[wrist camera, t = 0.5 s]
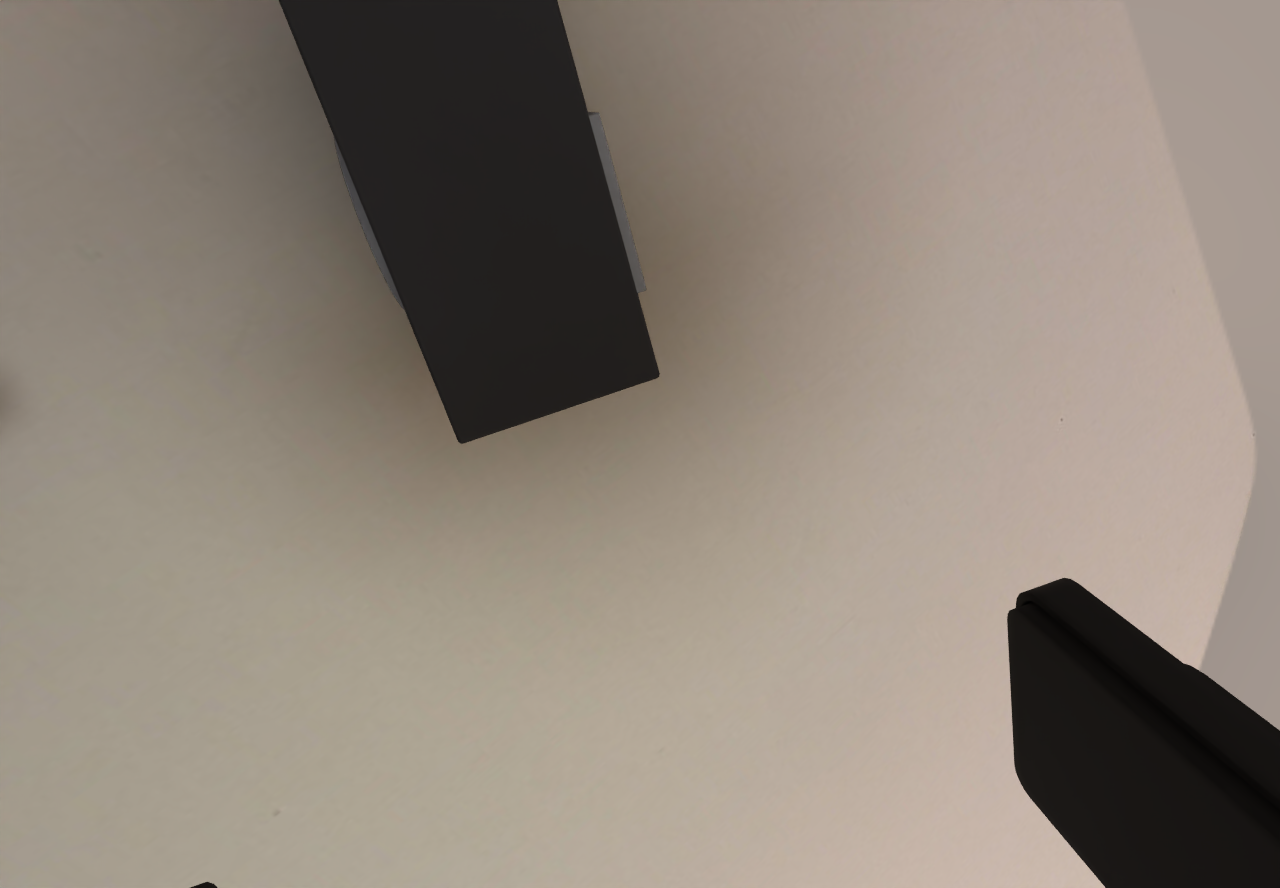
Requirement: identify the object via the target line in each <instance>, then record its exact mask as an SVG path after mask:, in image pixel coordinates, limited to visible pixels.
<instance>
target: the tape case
mask: <svg viewBox="0 0 1280 888" xmlns="http://www.w3.org/2000/svg"><path fill="white" fill-rule="evenodd" d="M279 2H280V5H281V7H282V9H283V12H284V14H285V17H286V19H287V22H288V24H289V27H290V29H291V32H292V34H293V36H294V39H295V41H296V44H297V46H298V49H299V51H300V54H301V56H302V59H303V61H304V64H305V66H306V68H307V71H308V73H309V76H310V78H311V81H312V83H313V86H314V88H315V91H316V93H317V96H318V98H319V100H320V103H321V105H322V108H323V110H324V113H325V115H326V118H327V120H328V123H329V125H330V127H331V130H332V132H333V135H334V141H335V147H336V151H337V155H338V159H339V163H340V166H341V170H342V173H343V176H344V179H345V183H346V186H347V188H348V191H349V194H350V197H351V200H352V203H353V205H354V208H355V211H356V214H357V216H358V219H359V221H360V224H361V226H362V229H363V231H364V234H365V236H366V239H367V241H368V243H369V246H370V248H371V250H372V253H373V255H374V257H375V259H376V262H377V264H378V266H379V268H380V270H381V272H382V274H383V276H384V278H385V280H386V282H387V284H388V286H389V288H390V290H391V292H392V293H393V295H394V297H395V298H396V300H397V302H398V303H399V304H400V306H401V307H402V308H403V309H404V310H405V312H406V314H407V317H408V319H409V322H410V324H411V327H412V329H413V332H414V334H415V337H416V339H417V341H418V344H419V346H420V349H421V351H422V354H423V356H424V359H425V361H426V364H427V366H428V369H429V371H430V373H431V376H432V378H433V381H434V383H435V386H436V388H437V391H438V393H439V396H440V398H441V400H442V403H443V405H444V408H445V410H446V413H447V415H448V418H449V420H450V423H451V425H452V428H453V430H454V432H455V435H456V437H457V440H458V442H459V443H460V444H463V443H466V442H469V441H472V440H475V439H478V438H481V437H484V436H487V435H490V434H493V433H496V432H499V431H502V430H505V429H508V428H511V427H514V426H517V425H520V424H523V423H526V422H529V421H532V420H535V419H537V418H540V417H543V416H546V415H549V414H552V413H555V412H558V411H561V410H564V409H567V408H570V407H573V406H576V405H579V404H582V403H585V402H588V401H591V400H594V399H597V398H600V397H603V396H606V395H609V394H612V393H615V392H618V391H621V390H623V389H626V388H629V387H632V386H635V385H638V384H641V383H644V382H647V381H650V380H653V379H656V378H658V377H659V374H660V373H659V370H658V366H657V362H656V359H655V355H654V352H653V348H652V344H651V341H650V337H649V333H648V330H647V326H646V322H645V319H644V315H643V311H642V308H641V304H640V301H639V297H638V293H639V292H642V291H645V290H646V285H645V281H644V278H643V274H642V270H641V266H640V263H639V259H638V255H637V252H636V248H635V244H634V240H633V237H632V233H631V229H630V226H629V222H628V218H627V214H626V211H625V207H624V203H623V200H622V196H621V192H620V188H619V185H618V181H617V177H616V174H615V170H614V166H613V162H612V159H611V155H610V151H609V148H608V144H607V140H606V136H605V133H604V129H603V125H602V122H601V118H600V114H599V113H597V112H588V111H587V108H586V104H585V100H584V97H583V93H582V89H581V86H580V82H579V78H578V75H577V71H576V67H575V64H574V60H573V57H572V53H571V49H570V46H569V42H568V38H567V35H566V31H565V27H564V24H563V20H562V16H561V13H560V9H559V6H558V2H557V0H279Z"/></svg>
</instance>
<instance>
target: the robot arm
mask: <svg viewBox="0 0 1280 888" xmlns="http://www.w3.org/2000/svg"><path fill="white" fill-rule="evenodd" d="M1007 623H1008V643H1009V663H1010V683H1011V703H1012V723H1013V744H1014V764H1015V770H1016V773H1017V776H1018V778H1019V780H1020V782H1021V785H1022V786H1023V788H1024V790H1025V791H1026V793H1027V794H1028V795H1029V797H1030V798H1031V799H1032V801H1033V802H1034V803H1035V804H1036V805H1037V806H1038V808H1039V809H1040V810H1041V811H1042V812H1043V814H1044V815H1045V816H1046V817H1047V818H1048V820H1049V821H1050V822H1051V823H1052V824H1053V825H1054V827H1055V828H1056V829H1057V830H1058V831H1059V833H1060V834H1061V835H1062V836H1063V837H1064V839H1065V840H1066V841H1067V842H1068V843H1069V845H1070V846H1071V847H1072V848H1073V849H1074V850H1075V852H1076V853H1077V854H1078V855H1079V856H1080V858H1081V859H1082V860H1083V861H1084V862H1085V864H1086V865H1087V866H1088V867H1089V868H1090V870H1091V871H1092V872H1093V873H1094V874H1095V875H1096V877H1097V878H1098V879H1099V880H1100V881H1101V883H1102V884H1103V885H1104V886H1105V887H1106V888H1280V731H1279V730H1278V729H1277V728H1275V727H1274V726H1273V725H1271V724H1270V723H1269V722H1268V721H1266V720H1265V719H1264V718H1262V717H1261V716H1260V715H1258V714H1257V713H1256V712H1254V711H1253V710H1252V709H1250V708H1249V707H1248V706H1246V705H1245V704H1243V703H1242V702H1241V701H1240V700H1238V699H1237V698H1236V697H1234V696H1233V695H1232V694H1230V693H1229V692H1228V691H1226V690H1225V689H1224V688H1222V687H1221V686H1220V685H1218V684H1217V683H1216V682H1214V681H1213V680H1212V679H1211V678H1209V677H1208V676H1207V675H1205V674H1204V673H1202V672H1200V671H1199V670H1197V669H1195V668H1194V667H1192V666H1190V665H1187V664H1183V663H1182V662H1181V661H1179V660H1178V659H1177V658H1175V657H1174V656H1173V655H1172V654H1170V653H1169V652H1168V651H1166V650H1165V649H1164V648H1162V647H1161V646H1160V645H1158V644H1157V643H1156V642H1154V641H1153V640H1152V639H1151V638H1149V637H1148V636H1147V635H1145V634H1144V633H1143V632H1141V631H1140V630H1139V629H1137V628H1136V627H1135V626H1133V625H1132V624H1131V623H1129V622H1128V621H1127V620H1126V619H1124V618H1123V617H1122V616H1120V615H1119V614H1118V613H1116V612H1115V611H1114V610H1112V609H1111V608H1110V607H1108V606H1107V605H1106V604H1105V603H1103V602H1102V601H1101V600H1099V599H1098V598H1097V597H1095V596H1094V595H1093V594H1091V593H1090V592H1089V591H1087V590H1086V589H1085V588H1084V587H1082V586H1081V585H1080V584H1078V583H1077V582H1075V581H1073V580H1071V579H1067V578H1062V579H1059V580H1056V581H1054V582H1051V583H1048V584H1045V585H1042V586H1040V587H1037V588H1034V589H1031V590H1028V591H1025V592H1023V593H1020V594H1019V596H1018V597H1017V601H1016V608H1015V609H1012V610H1010V611H1009V613H1008V618H1007ZM191 888H217V887H216V886H215V885H214V884H212V883H209V882H205V883H202V884H199V885H196V886H194V887H191Z"/></svg>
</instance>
